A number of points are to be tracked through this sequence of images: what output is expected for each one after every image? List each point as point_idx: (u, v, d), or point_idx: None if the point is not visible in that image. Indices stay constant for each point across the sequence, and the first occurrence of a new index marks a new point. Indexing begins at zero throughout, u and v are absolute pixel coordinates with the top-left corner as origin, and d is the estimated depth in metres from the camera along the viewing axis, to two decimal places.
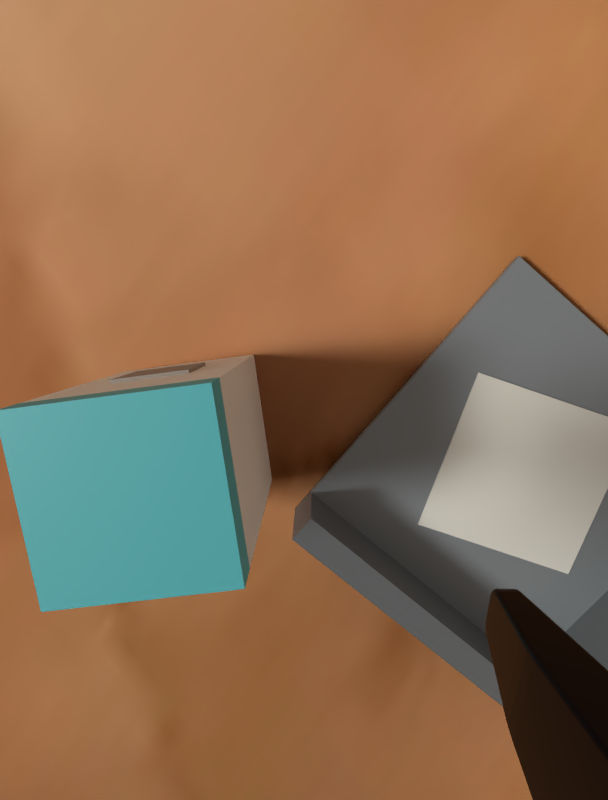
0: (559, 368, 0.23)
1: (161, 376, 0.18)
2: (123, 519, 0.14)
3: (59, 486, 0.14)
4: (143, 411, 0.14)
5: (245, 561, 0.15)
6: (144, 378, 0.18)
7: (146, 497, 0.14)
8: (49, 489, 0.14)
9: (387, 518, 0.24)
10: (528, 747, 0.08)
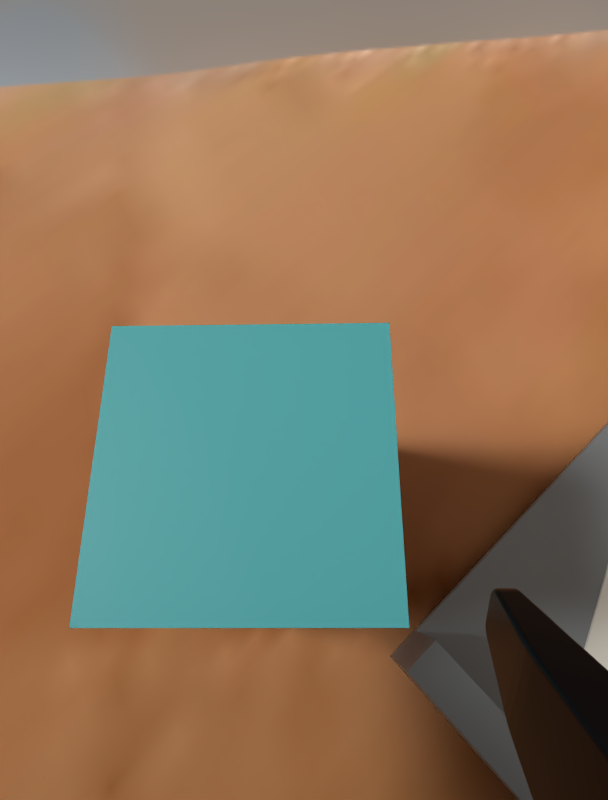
0: None
1: None
2: (239, 486, 0.10)
3: (162, 429, 0.10)
4: (298, 346, 0.11)
5: None
6: None
7: (279, 458, 0.10)
8: (147, 431, 0.10)
9: None
10: (528, 747, 0.08)
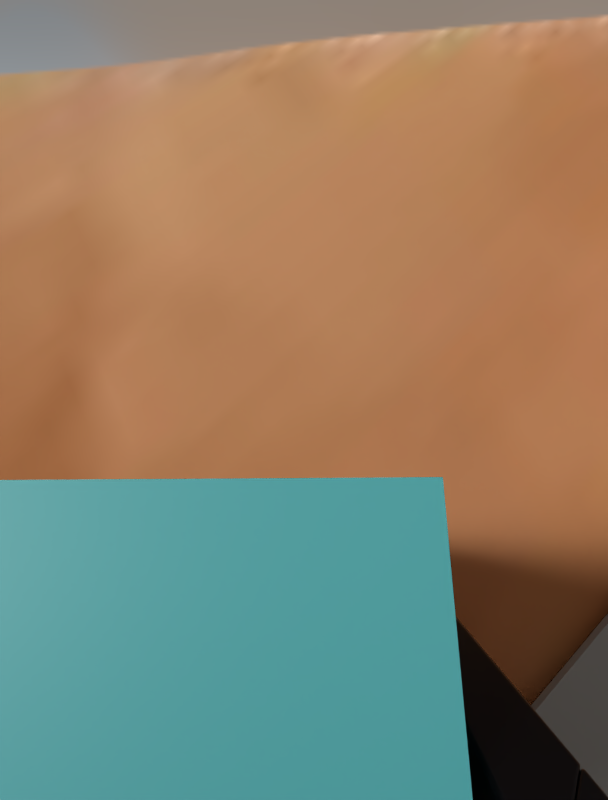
0: None
1: None
2: None
3: (40, 687, 0.06)
4: (285, 522, 0.06)
5: None
6: None
7: (249, 753, 0.05)
8: (13, 692, 0.06)
9: None
10: None
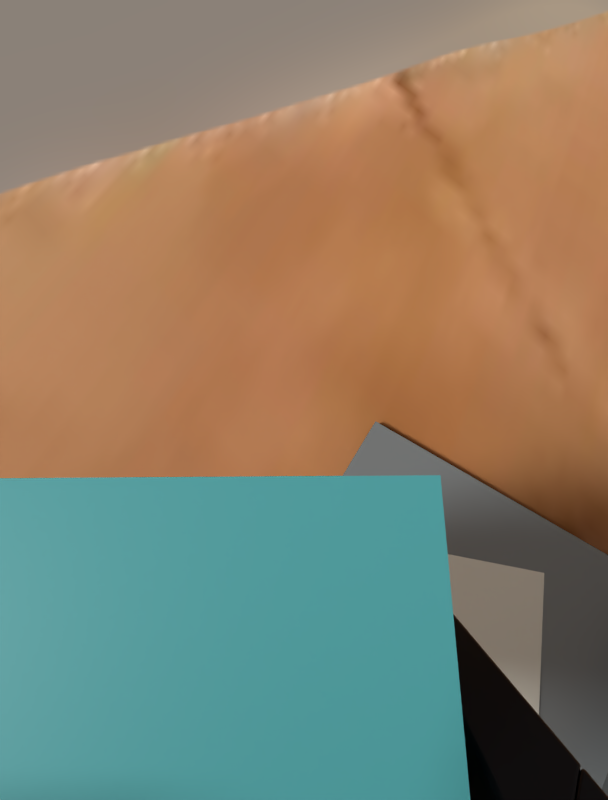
0: None
1: None
2: None
3: (39, 685, 0.06)
4: (283, 520, 0.06)
5: None
6: None
7: (247, 750, 0.06)
8: (11, 690, 0.06)
9: None
10: None
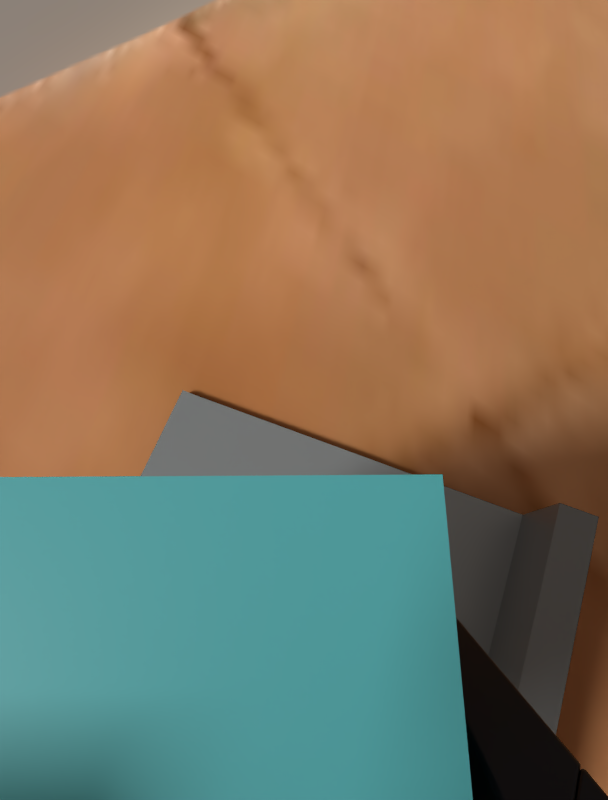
0: None
1: None
2: None
3: (40, 684, 0.06)
4: (285, 519, 0.06)
5: None
6: None
7: (249, 750, 0.05)
8: (13, 689, 0.06)
9: None
10: None
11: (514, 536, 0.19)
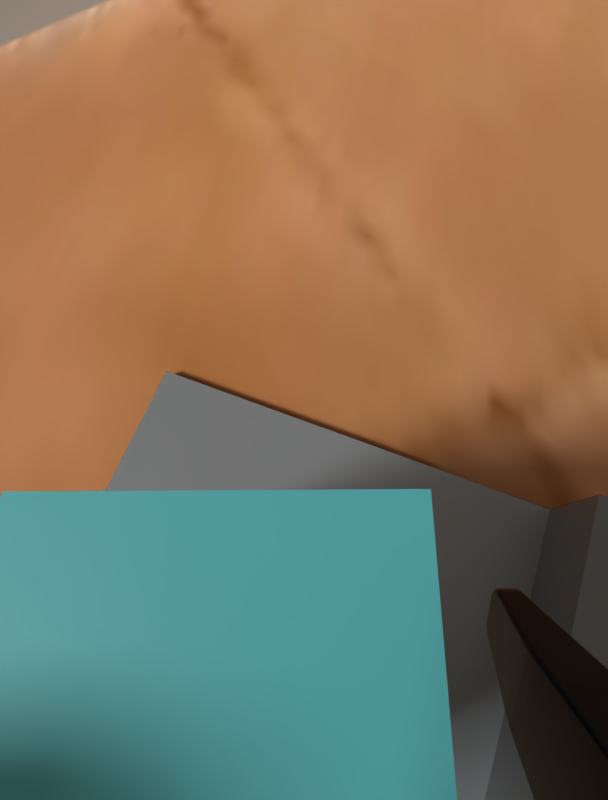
0: (260, 476, 0.17)
1: None
2: (190, 790, 0.06)
3: (70, 678, 0.06)
4: (289, 529, 0.07)
5: None
6: None
7: (257, 736, 0.06)
8: (46, 682, 0.06)
9: None
10: (530, 747, 0.08)
11: (541, 534, 0.17)
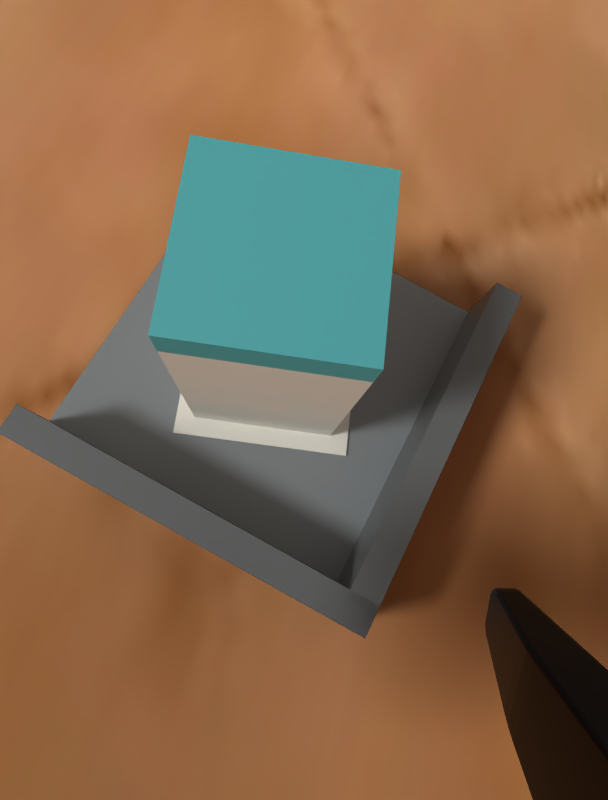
0: None
1: None
2: (276, 263, 0.14)
3: (224, 215, 0.14)
4: (331, 175, 0.14)
5: None
6: None
7: (308, 249, 0.14)
8: (213, 215, 0.14)
9: (138, 433, 0.22)
10: (528, 747, 0.08)
11: (459, 325, 0.25)
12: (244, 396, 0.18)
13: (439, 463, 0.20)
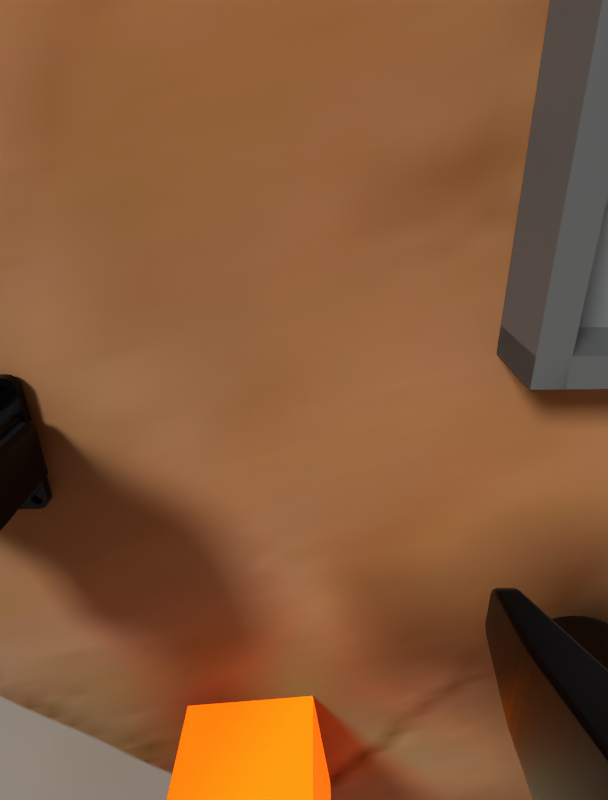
0: None
1: None
2: None
3: None
4: None
5: None
6: None
7: None
8: None
9: None
10: (528, 747, 0.08)
11: None
12: None
13: None
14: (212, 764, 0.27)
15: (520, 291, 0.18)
